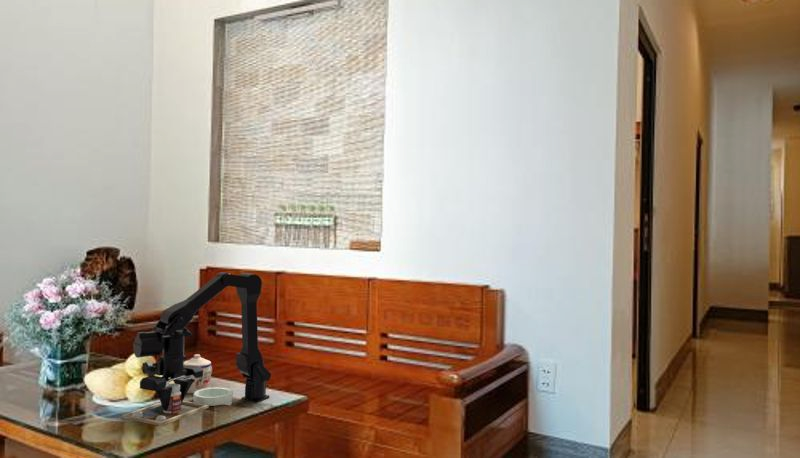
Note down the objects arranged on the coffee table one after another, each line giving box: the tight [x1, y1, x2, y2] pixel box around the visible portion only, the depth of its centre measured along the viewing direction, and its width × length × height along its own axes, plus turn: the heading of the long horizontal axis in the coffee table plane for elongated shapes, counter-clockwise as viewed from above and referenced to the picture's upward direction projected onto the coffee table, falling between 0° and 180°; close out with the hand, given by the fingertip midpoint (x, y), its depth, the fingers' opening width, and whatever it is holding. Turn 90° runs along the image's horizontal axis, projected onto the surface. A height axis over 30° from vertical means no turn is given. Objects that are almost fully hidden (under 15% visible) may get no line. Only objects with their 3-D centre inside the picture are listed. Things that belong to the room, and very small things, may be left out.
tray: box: [121, 400, 209, 427], centre depth 167 cm, size 18×14×2 cm
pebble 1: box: [132, 410, 144, 418], centre depth 163 cm, size 3×3×3 cm
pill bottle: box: [162, 383, 182, 414], centre depth 169 cm, size 5×5×8 cm
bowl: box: [192, 387, 234, 407], centre depth 180 cm, size 11×11×4 cm
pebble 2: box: [154, 415, 167, 422], centre depth 160 cm, size 3×3×3 cm
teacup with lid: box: [184, 353, 213, 394], centre depth 197 cm, size 12×9×12 cm
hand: (172, 407), depth 169 cm, fingers closed on pill bottle, 5 cm apart
